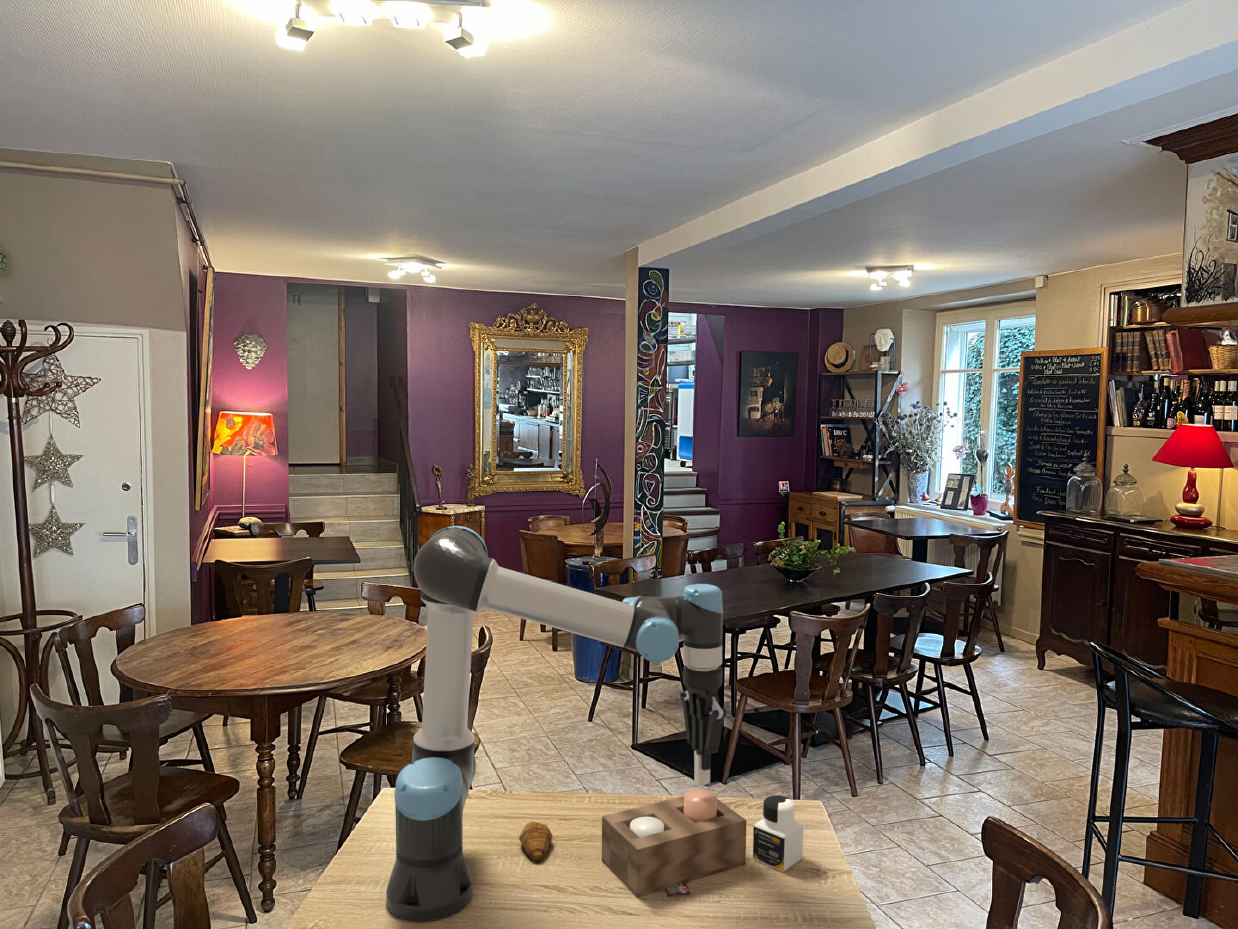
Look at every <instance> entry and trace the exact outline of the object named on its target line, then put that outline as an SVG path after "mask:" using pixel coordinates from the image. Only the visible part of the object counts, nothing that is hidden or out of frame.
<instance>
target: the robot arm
mask: <svg viewBox="0 0 1238 929" xmlns="http://www.w3.org/2000/svg"><path fill="white" fill-rule="evenodd" d="M413 576H414V579H415V582H416V584H417V586H418V588H420V599H421V601H422V602H423V603H424V604H425V605H426V606H427V608H428V610H427V625H426V626H427V627H426V628H427V629H426V644H425V645H426V648H425V661H424V662H425V666H424V686H423V701H422V702H423V704H422V723H421V728H420V729H419V730H418V731H417V732H415V733H414V735H413V740H412V757H411V758H412V759H411V763H408V764H407V765H405V767H403V768H402V769H401V770H400V772H399V774H398V775H397V778H396V781H395V787H394V794H393V795H394V804H395V805H394V806H395V854H396V857H395V860H394V864H393V868H392V871H391V874H390V877H389V880H388V883H387V886H386V890H385V892H386V896H385V897H386V898H385V899H386V907H387V909H388V911H389V912H390V913H391V914H393V915H394V916H396V917H398V918H399V919H402V920H405V921H409V922H411V921H412V922H422V923H423V922H432V921H433V922H434V921H439V920H441V919H447V918H449V917H451V916H453V915H455V914H458V913H459V912H460V911H462V910H463V909H465V908H466V906H467V905H469V903H470V902H471V900H472V898H473V894H474V892H473V891H474V890H473V886H474V885H473V884H474V882H473V878H472V875H471V872H470V869H469V866H468V863H467V860H466V858H465V855H464V851H463V848H464V847H463V842H464V841H463V840H464V839H463V833H464V832H463V826H464V825H463V817H464V815H463V813H464V807H465V805H466V801H467V797H468V795H469V791H470V787H471V786H472V783H473V781H474V777H475V775H476V768H477V761H476V756H475V752H474V751H475V735H474V733H473V732H472V731H471V730H470V729H469V728H468V720H469V702H470V700H469V699H470V687H471V686H470V684H471V669H472V668H471V667H472V666H471V664H472V649H473V648H472V647H473V634H474V633H473V630H474V615H475V612H476V613H479V612H481V611H483V610H485V609H487V610H491V611H494V612H497V613H502V614H506V615H509V616H512V617H517V618H519V619H522V620H526V621H529V622H534V623H537V624H540V625H545V626H548V627H550V628H553V629H554V628H555V629H558V630H560V631H561V630H562V631H565V632H569V633H572V634H576V635H579V636H582V637H586V638H589V639H593V640H597V641H600V642H602V643H603V642H604V643H607V644H610V645H613V646H618V647H621V648H624V649H627V650H629V651H630V650H631V651H634V652H637V653H639V655H641V656H642V657H643V658H644V659H645V660H646V661H648V662H652V663H664V662H666V661H667V662H668V661H669V660H670V659H672V658H673V657H674V656H675V654H676V653H677V651H678V649H679V647H680V646H679V644H680V637H682V636H683V645H682V646H683V648H682V649H683V650H682V652H683V653H682V654H683V656H682V662H683V664H684V666H683V672H682V674H683V675H682V676H683V678H682V680H683V681H682V682H683V685H684V686H685V687H687V689H686V691H682V692H680V693H679V696H680V700H681V704H682V710H683V718H684V728H685V736H686V742H687V743H688V744H691V749H692V750H693V763H694V771H693V772H694V774H693V775H694V776H693V778H694V781H693V782H694V783H693V784H694V785H695V786H697V787H701V786H705V785H709V784H711V768H712V754H716V753H718V752H719V748H720V742H721V736H722V732H723V724H724V720H725V718H726V715H727V709H726V708H725V707H723V708H722V707H721V706H720V704H719V701H720V700H719V695H718V690H719V689H720V687H721V686H722V684H723V667H722V664H723V631H724V630H723V627H724V626H723V623H724V609H723V592H722V590H721V588H720V587H718V586H716V585H714V584H708V583H695V584H688V585H686V586H685V587H684V589H683V592H682V595H678V596H642V595H638V596H634V597H633V596H632V597H625V598H624V599H623V600H622V601H618V600H616V599H612V598H609V597H605V596H602V595H599V594H594V593H592V592H588V591H584V590H581V589H577V588H575V587H571V586H567V585H564V584H560V583H557V582H554V581H550V580H547V579H542V578H539V577H537V576H533V575H529V574H525V573H523V572H519V571H515V570H512V569H508V568H505V567H502V566H499V564H498V563H497V561H496V560H495V559H494V558H492V557H489V554H488V549H487V545H486V543H485V541H484V539H483V538H482V537H481V536H480V534H478V533H477V532H476V531H474V530H473V529H471V528H468V527H465V526H460V525H452V526H448V527H445V528H441V529H440V530H438V531H436V532H435V533H434V534H433V535H432V536H431V537H430V538H429V539H428V541H426V542H425V543H424V544H423V545H422V546H421V547H420V549H419V550H418V551H417V553H416V556H415V558H414V561H413Z"/></svg>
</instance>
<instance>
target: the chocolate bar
mask: <svg viewBox="0 0 1238 929" xmlns="http://www.w3.org/2000/svg"><path fill="white" fill-rule="evenodd" d="M689 889H690V888H689V886H688V885H687V883H685V882H683V883H680V884H676V885H673V886H669V887H667V888H666V889H664V890H665V893H666V898H671V897H678V896H689V895H690V896H691V894H692V892H691V891H690V890H689Z"/></svg>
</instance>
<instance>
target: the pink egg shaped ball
mask: <svg viewBox="0 0 1238 929" xmlns="http://www.w3.org/2000/svg"><path fill="white" fill-rule="evenodd" d="M683 796H684V815H685V816H687V817H688V818H689V819H690V820H692V821H693V822H694V823H697V822H701V821H705V820H709V819H713V818H716V817H717V799H718V796H717V794H715V793H714V792H712V791H710V790H708V789H703V788H702V789H701V788H696V789H690V790H688V791H686V792H685V793H684V795H683Z"/></svg>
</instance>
